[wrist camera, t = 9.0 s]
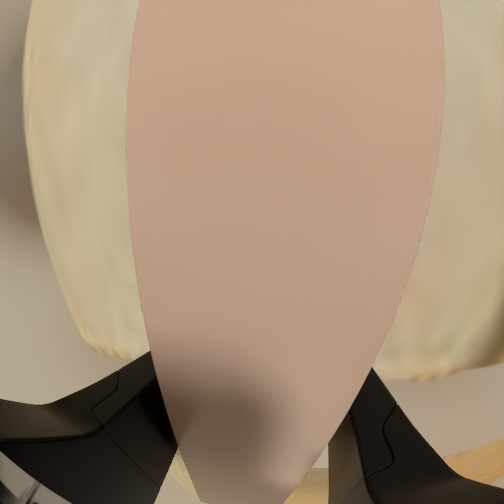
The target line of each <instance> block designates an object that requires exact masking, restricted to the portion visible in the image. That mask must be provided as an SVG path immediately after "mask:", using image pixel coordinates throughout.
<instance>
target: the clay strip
mask: <svg viewBox="0 0 504 504" xmlns="http://www.w3.org/2000/svg"><path fill="white" fill-rule="evenodd" d="M444 77H445V62H444V37H443V24H442V14H441V6H440V0H139V4H138V10H137V15H136V21H135V28H134V35H133V42H132V50H131V59H130V70H129V82H128V98H127V128H126V154H127V185H128V202H129V216H130V227H131V237H132V246H133V254H134V262H135V269H136V276H137V283H138V289H139V295H140V301H141V307H142V312H143V317H144V323H145V328H146V332H147V337H148V342H149V346H150V351H151V355H152V359H153V363H154V367H155V371H156V375H157V379H158V382H159V386H160V390H161V393H162V397H163V400H164V404H165V407H166V410H167V414H168V417H169V420H170V423H171V426H172V429H173V432H174V435H175V438H176V441H177V444H178V446H179V449H180V452H181V455H182V457H183V460H184V463H185V465H186V468H187V470H188V473H189V475H190V478H191V480H192V482H193V485H194V487H195V489H196V492H197V494H198V496H199V498H200V501H201V502H204V503H208V504H283V503H284V501H285V500H286V499H287V498H288V497H289V495H290V494H291V493H292V492H293V491H294V489H295V488H296V487H297V485H298V484H299V483H300V482H301V480H302V479H303V478H304V476H305V475H306V474H307V472H308V471H309V470H310V468H311V467H312V465H313V464H314V463H315V461H316V460H317V459H318V457H319V456H320V454H321V453H322V451H323V450H324V448H325V447H326V445H327V444H328V443H329V441H330V439H331V438H332V436H333V435H334V433H335V432H336V430H337V429H338V427H339V425H340V424H341V422H342V420H343V419H344V417H345V415H346V414H347V412H348V410H349V409H350V407H351V405H352V403H353V402H354V400H355V398H356V396H357V394H358V393H359V391H360V389H361V387H362V385H363V383H364V381H365V379H366V377H367V375H368V373H369V371H370V369H371V367H372V365H373V363H374V361H375V359H376V357H377V355H378V353H379V351H380V348H381V346H382V344H383V342H384V340H385V337H386V335H387V333H388V330H389V328H390V326H391V323H392V321H393V318H394V316H395V313H396V311H397V308H398V306H399V303H400V300H401V298H402V295H403V292H404V289H405V287H406V284H407V281H408V278H409V275H410V272H411V269H412V266H413V263H414V259H415V256H416V253H417V249H418V246H419V242H420V239H421V235H422V231H423V228H424V224H425V220H426V216H427V211H428V207H429V203H430V198H431V193H432V188H433V183H434V178H435V172H436V166H437V160H438V153H439V146H440V137H441V128H442V118H443V104H444Z"/></svg>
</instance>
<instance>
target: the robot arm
mask: <svg viewBox="0 0 504 504" xmlns="http://www.w3.org/2000/svg"><path fill="white" fill-rule="evenodd" d="M177 449H178V444H177V441H176V438H175V435H174V432H173V429H172V426H171V423H170V420H169V417H168V414H167V410H166V407H165V404H164V400H163V397H162V393H161V390H160V386H159V382H158V379H157V375H156V371H155V367H154V363H153V359H152V355H151V351H149V352H147V353H146V354H144V355H142V356H141V357H139V358H137V359H136V360H134V361H132V362H131V363H129V364H127V365H126V366H124V367H122V368H121V369H119V371H116V372H114V373H112V374H111V375H109V376H107V377H105V378H103V379H101V380H100V381H98V382H96V383H94V384H92V385H90V386H88V387H86V388H84V389H82V390H79V391H77V392H75V393H73V394H71V395H68V396H66V397H64V398H61V399H59V400H57V401H54V402H52V403H49V404H43V405H34V404H26V403H20V402H14V401H8V400H3V399H0V504H154V502H155V500H156V498H157V495H158V493H159V491H160V487H161V486H162V483H163V481H164V479H165V476H166V474H167V472H168V470H169V467H170V465H171V463H172V460H173V458H174V456H175V453H176V451H177ZM328 452H329V453H328V455H329V498H328V504H504V489H503V488H499V487H495V486H491V485H488V484H484V483H480V482H477V481H474V480H470V479H467V478H465V477H463V476H461V475H459V474H457V473H456V472H455V471H453V470H452V469H451V468H450V467H449V466H448V465H447V464H446V463H445V462H444V460H443V459H442V458H441V457H440V456H439V455H438V454H437V453H436V452H435V450H434V449H433V448H432V447H431V446H430V445H429V444H428V442H427V441H426V440H425V439H424V438H423V437H422V435H421V434H420V433H419V432H418V431H417V430H416V428H415V427H414V426H413V425H412V423H411V422H410V421H409V419H408V418H407V416H406V415H405V414H404V412H403V411H402V409H401V408H400V406H399V405H397V402H396V401H395V399H394V398H393V396H392V395H391V393H390V392H389V391H388V389H387V388H386V386H385V385H384V383H383V382H382V380H381V379H380V378H379V376H378V375H377V373H376V372H375V371H374V369H373V368H372V367H371V369H370V371H369V373H368V375H367V377H366V379H365V381H364V383H363V385H362V387H361V389H360V391H359V393H358V394H357V396H356V398H355V400H354V402H353V403H352V405H351V407H350V409H349V410H348V412H347V414H346V415H345V417H344V419H343V420H342V422H341V424H340V425H339V427H338V429H337V430H336V432H335V433H334V435H333V436H332V438H331V439H330V441H329V443H328Z"/></svg>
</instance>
